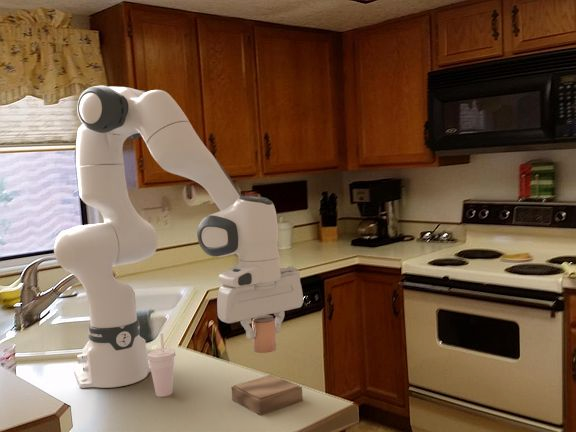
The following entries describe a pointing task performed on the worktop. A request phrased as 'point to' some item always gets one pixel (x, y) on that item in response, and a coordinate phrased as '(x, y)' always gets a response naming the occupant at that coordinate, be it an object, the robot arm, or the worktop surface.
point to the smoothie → (162, 369)
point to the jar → (264, 334)
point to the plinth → (266, 394)
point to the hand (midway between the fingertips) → (263, 335)
